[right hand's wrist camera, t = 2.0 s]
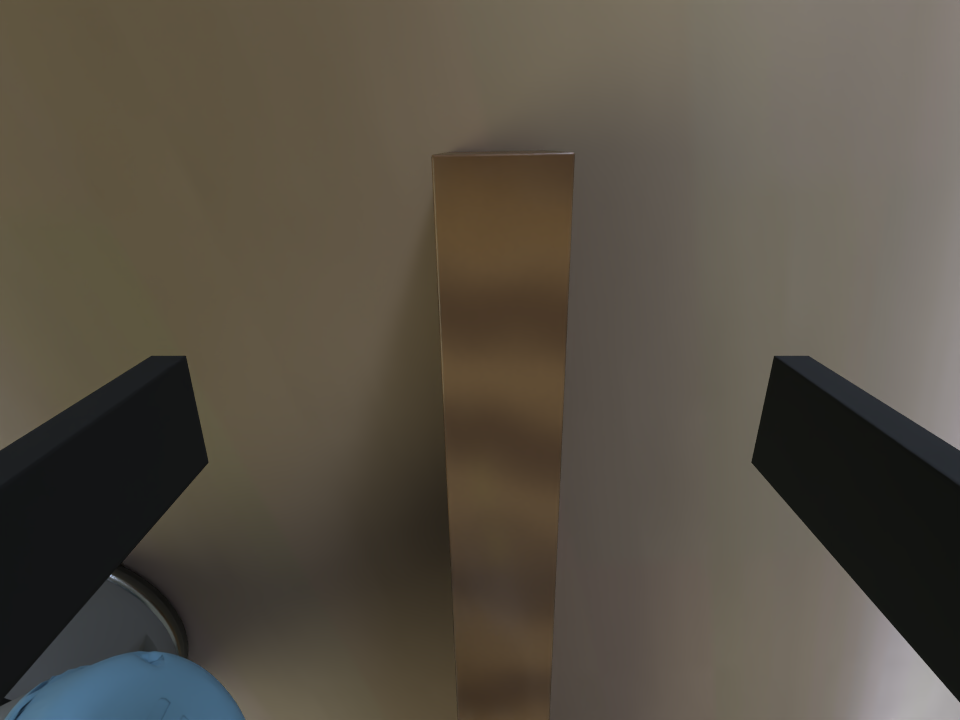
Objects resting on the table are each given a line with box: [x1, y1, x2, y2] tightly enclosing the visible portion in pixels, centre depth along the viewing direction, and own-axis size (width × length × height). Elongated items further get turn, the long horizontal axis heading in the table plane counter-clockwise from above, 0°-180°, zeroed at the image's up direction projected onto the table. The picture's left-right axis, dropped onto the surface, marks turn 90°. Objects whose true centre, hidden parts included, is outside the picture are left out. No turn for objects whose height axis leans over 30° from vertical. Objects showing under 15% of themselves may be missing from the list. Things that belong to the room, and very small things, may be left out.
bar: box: [431, 151, 575, 720], centre depth 35 cm, size 64×5×9 cm, turn 1°
